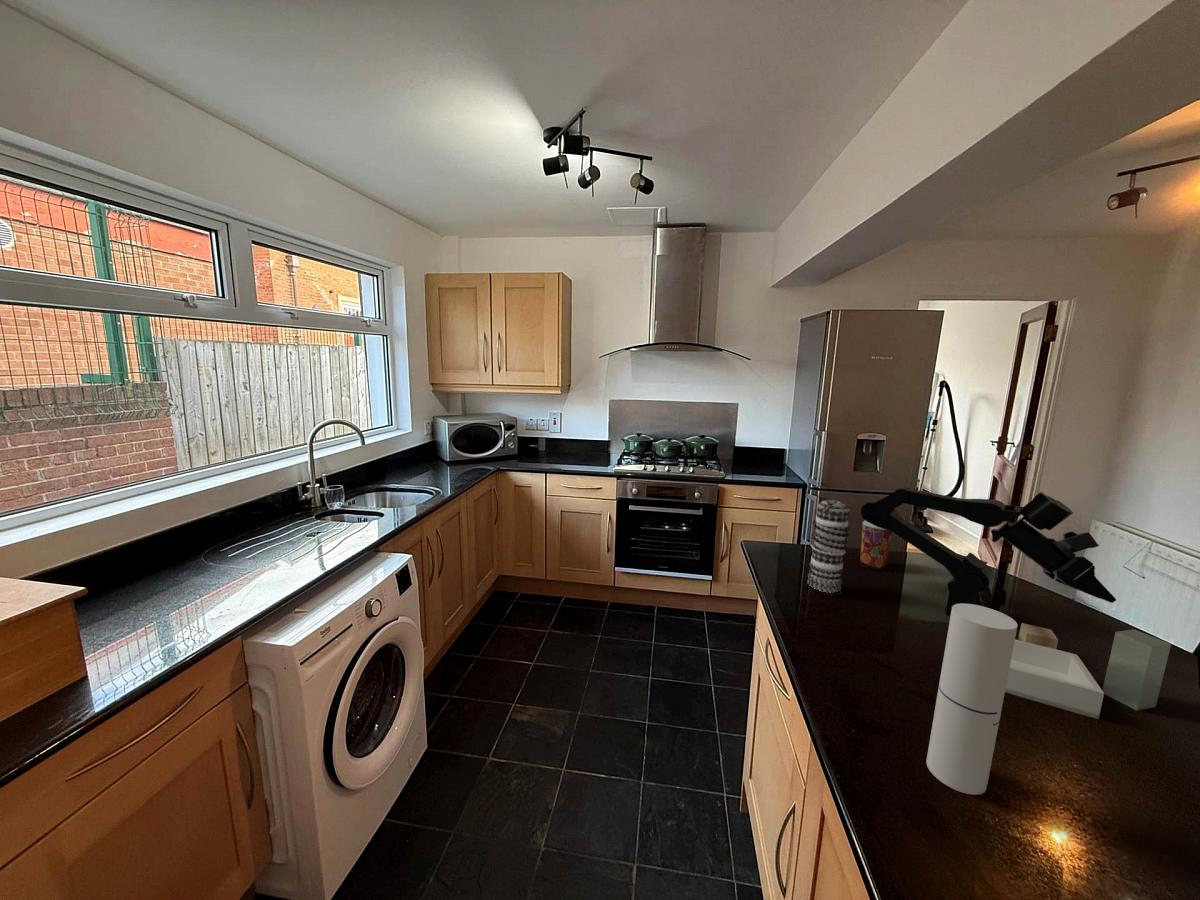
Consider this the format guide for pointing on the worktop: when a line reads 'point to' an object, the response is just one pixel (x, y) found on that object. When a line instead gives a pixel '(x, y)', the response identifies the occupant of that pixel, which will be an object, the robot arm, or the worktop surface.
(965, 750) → the cylindrical container
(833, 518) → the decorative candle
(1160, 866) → the worktop surface
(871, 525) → the smoothie
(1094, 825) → the worktop surface
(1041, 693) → the white tote
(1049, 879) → the worktop surface
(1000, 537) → the robot arm
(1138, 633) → the sage tin
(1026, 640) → the oak block
